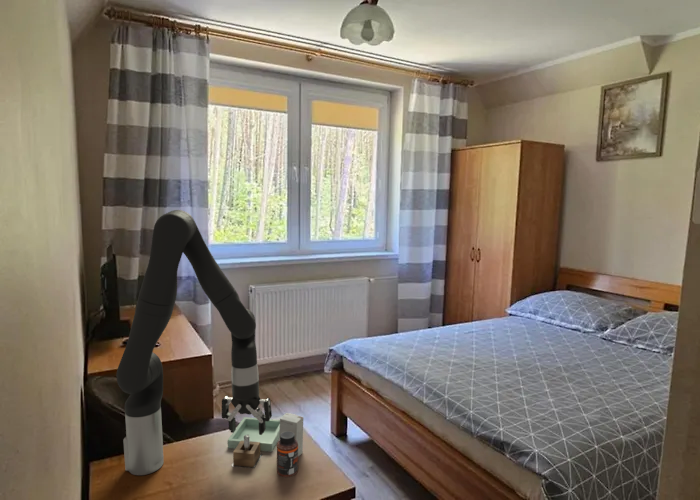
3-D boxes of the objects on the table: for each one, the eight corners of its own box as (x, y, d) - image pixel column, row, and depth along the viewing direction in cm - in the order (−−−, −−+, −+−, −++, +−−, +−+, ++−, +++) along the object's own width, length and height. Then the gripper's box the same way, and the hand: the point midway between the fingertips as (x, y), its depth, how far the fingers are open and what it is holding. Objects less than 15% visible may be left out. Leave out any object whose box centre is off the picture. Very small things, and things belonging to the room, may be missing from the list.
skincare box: (278, 456, 134) (278, 418, 133) (286, 448, 138) (286, 411, 137) (296, 461, 132) (296, 423, 130) (304, 453, 136) (303, 416, 134)
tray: (227, 449, 138) (227, 440, 137) (244, 425, 151) (244, 417, 151) (272, 453, 136) (272, 443, 135) (284, 428, 150) (284, 420, 149)
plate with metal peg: (231, 467, 129) (230, 441, 128) (240, 453, 136) (239, 428, 134) (254, 470, 128) (254, 443, 127) (262, 455, 135) (262, 430, 134)
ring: (233, 465, 129) (233, 452, 128) (242, 451, 136) (242, 438, 135) (253, 466, 128) (253, 453, 128) (261, 452, 135) (261, 440, 135)
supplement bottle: (297, 478, 124) (297, 440, 123) (276, 479, 124) (275, 441, 122) (298, 465, 130) (298, 428, 129) (278, 465, 130) (277, 429, 128)
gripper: (215, 383, 125) (218, 437, 127) (264, 386, 123) (267, 441, 125) (226, 372, 132) (229, 424, 135) (273, 374, 130) (275, 427, 133)
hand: (247, 432), depth 130 cm, fingers open, 8 cm apart
